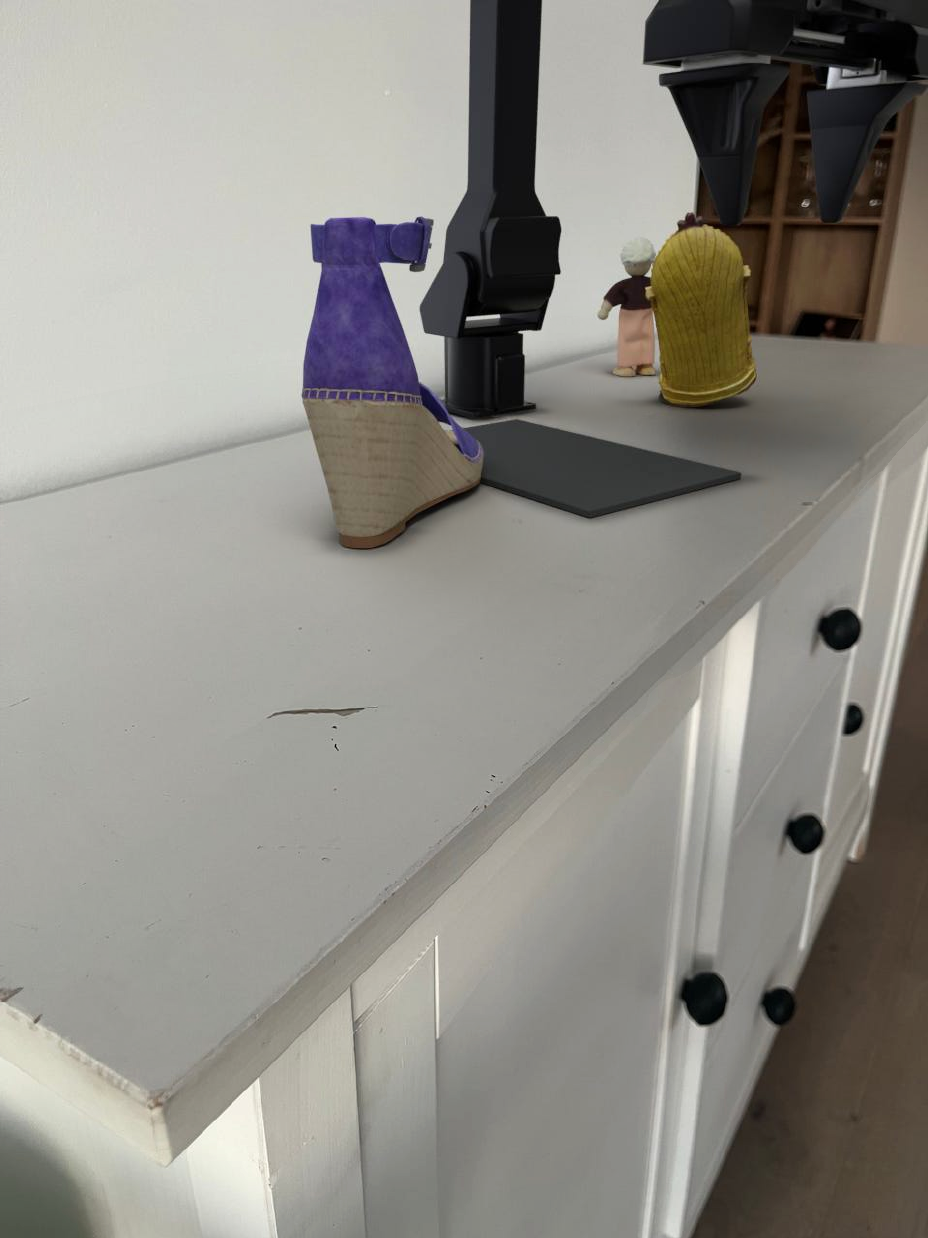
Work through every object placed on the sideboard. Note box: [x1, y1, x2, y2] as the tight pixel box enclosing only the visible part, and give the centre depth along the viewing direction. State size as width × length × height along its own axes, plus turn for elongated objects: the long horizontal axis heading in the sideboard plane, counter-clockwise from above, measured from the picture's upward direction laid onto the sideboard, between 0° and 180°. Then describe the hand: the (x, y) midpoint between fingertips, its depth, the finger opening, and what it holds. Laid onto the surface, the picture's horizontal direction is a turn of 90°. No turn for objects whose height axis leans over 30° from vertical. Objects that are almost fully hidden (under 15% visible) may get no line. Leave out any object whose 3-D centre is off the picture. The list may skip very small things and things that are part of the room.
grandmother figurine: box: [597, 237, 657, 378], centre depth 94 cm, size 8×4×13 cm, turn 115°
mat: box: [450, 418, 742, 519], centre depth 63 cm, size 21×13×1 cm, turn 38°
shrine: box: [645, 211, 757, 408], centre depth 78 cm, size 12×8×15 cm
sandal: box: [300, 216, 484, 549], centre depth 53 cm, size 8×20×15 cm, turn 161°
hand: (783, 223), depth 53 cm, fingers open, 9 cm apart
